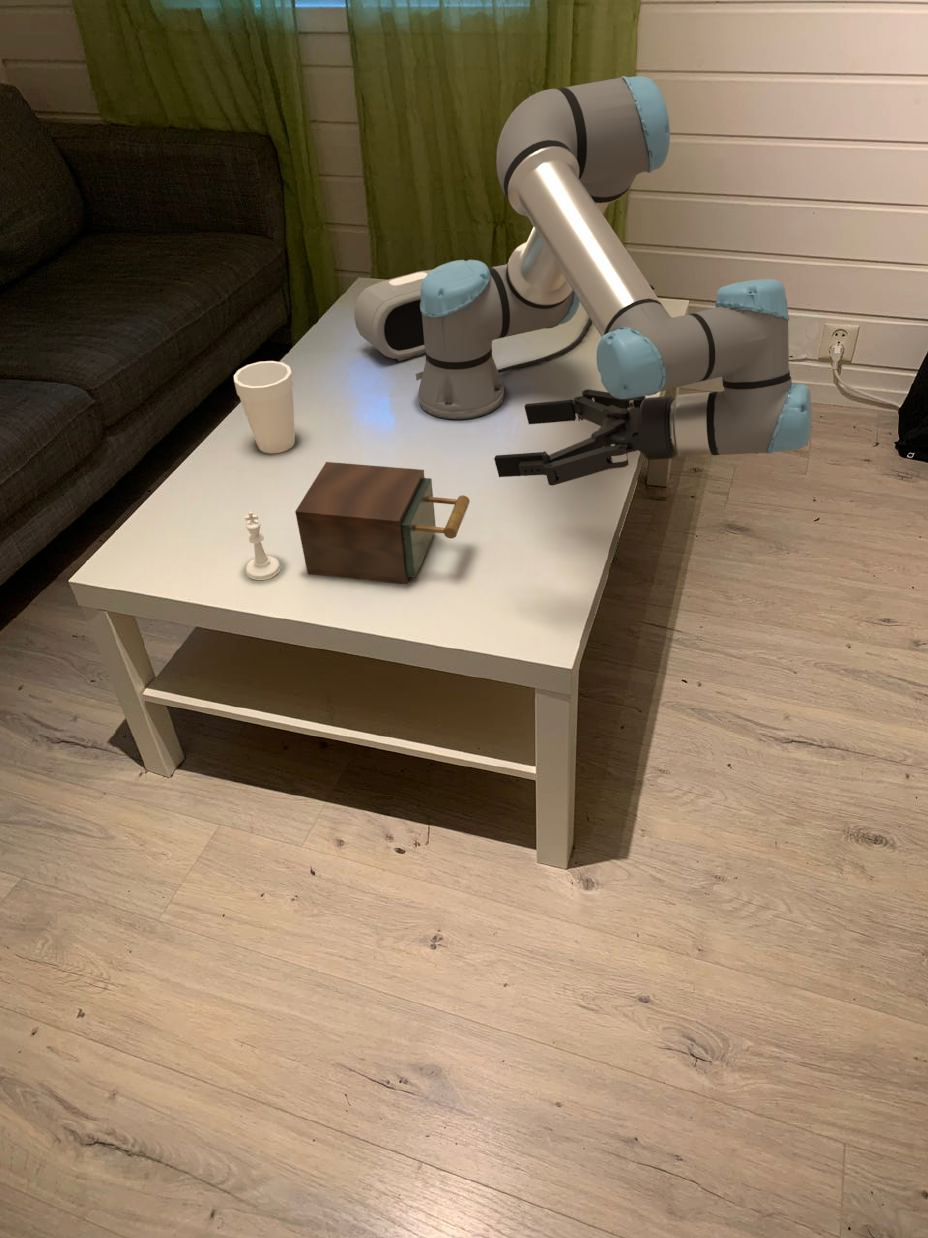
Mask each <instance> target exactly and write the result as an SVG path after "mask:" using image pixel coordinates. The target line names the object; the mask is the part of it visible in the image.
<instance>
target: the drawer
mask: <svg viewBox="0 0 928 1238" xmlns="http://www.w3.org/2000/svg"><path fill="white" fill-rule="evenodd" d="M432 480H433V479H432V478H431V477H425V478H423V480H422V482H421V484H420V486H419V488H418V491H417V493H416V495H415V497H414V498H413V500H412V502H411V504H410V506H409V508H408V510H407V512H406V514H405V516H404V518H403V521H402V524H401V527H402V536H403V544H404V553H405V561H406V570H407V576H410V577H409V578H411V577H412V578H416V576H417V574H418V571H419V570H420V567H421V565H422V562H423V560H424V558H425V555H426V554H427V551H428V548H429V546H430V545H431V542H432V539H433V537H434V535H435V534H442V535H444V536H445V537H446V538H447V539H452V540H453V539H455V538H456V537H457V535H458V533H459V530H460V527H461V525H462V522H463V520H464V518H465V515H466V513H467V510H468V508H469V505H470V502H471V500H470V498H469V497H468V496H466V495H459V496H458V497H457V498H447V497H437V496H434V493H433V492H434V491H433V481H432ZM435 504H443V505H454V506H453V508H452V511H451V513H450V515H449V518H448V520H447V522H446V525H445V527H439V526H437V525H436V514H435Z"/></svg>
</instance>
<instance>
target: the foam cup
mask: <svg viewBox="0 0 928 1238" xmlns="http://www.w3.org/2000/svg"><path fill="white" fill-rule="evenodd" d="M233 383H234V387H235V391H236V395H237V396H238V397H239V400H240V402H241V405H242V408H243V410H244V414H245V416H246V419H247V422H248V425H249V427H250V429H251V432H252V435H253V437H254V440H255V443H256V445H257V448H258V450H259V451H261V452H262V453H266V454H280V453H284V452H286V451H289V450H290V449H291V448H293V446H294V445H295V444H296V433H295V432H296V431H295V430H296V429H295V410H294V408H295V407H294V386H295V385H294V378H293V374H292V369H291V366H289V365H288V364H286V363H285V362H280V361H275V360H266V361H256V362H254V363H250V364H246V365H244V366H242V367H241V368H238V370H236V372H235V374H234V375H233Z"/></svg>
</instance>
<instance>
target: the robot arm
mask: <svg viewBox="0 0 928 1238" xmlns="http://www.w3.org/2000/svg"><path fill="white" fill-rule="evenodd" d="M670 139H671V130H670V120H669V113H668V108H667V105H666V101H665V99H664V96H663V94H662V92H661V90H660V88H659V86H658V85H657V84H656V82H655V81H653V80H652V79H651V78H649V77H647V76H643V75H636V76H626V75H622V76H620V77H617V78H610V79H605V80H599V81H594V82H589V83H581V84H577V85H571V86H565V87H558V88H550V89H544V90H541V91H538V92H536V93H533V94H531V95H530V96H529V97H526V99H524V100H523V101H522V102H521V103H520V104H518V105H517V106H516V107H515V109H514V110H513V111H512V112H511V114H510V115H509V117H508V118H507V120H506V122H505V123H504V126H503V128H502V130H501V132H500V135H499V138H498V143H497V148H496V159H495V160H496V161H495V162H496V163H495V164H496V172H497V178H498V182H499V185H500V187H501V190H502V192H503V195H504V196H505V198H506V199H507V201H508V203H509V204H510V206H511V207H512V209H513V210H514V212H516V213H517V214H519V215H521V216H523V217H527V218H528V219H529V221H530V223H531V225H532V226H533V227H532V230H531V232H530V234H529V236H528V239H527V241H526V242H524V243H522V244H520V245H519V246H517V247H516V248H515V249H514V250H513V251H512V253H511V255H510V257H509V259H508V262H507V263H506V264H502V265H497V266H492V267H488V266H487V264H486V263H484V262H482V261H480V260H476V259H468V260H464V259H460V260H453V261H449V262H447V263H444V264H441V265H439V266H437V267H435V268H434V269H431V270H432V271H431V272H429V273H428V274H427V276H426V277H425V278H424V280H423V281H422V284H421V302H420V310H421V312H422V321H423V333H424V344H425V353H424V354H425V362H424V367H423V371H420V372H417V373H415V380H416V381H419V380H420V383H419V387H418V402H419V406H420V407H421V408H422V410H423V411H425V412H426V413H427V414H428V415H432V416H434V417H438V418H440V419H446V420H468V419H473V418H479V417H482V416H485V415H487V414H489V413H492V412H493V411H495V410H497V409H498V408H499V407H500V406H501V405H502V403H503V401H504V398H505V389H504V383H503V381H502V378H501V376H500V374H502V373H505V372H509V371H512V370H515V369H520V368H524V367H529V366H532V365H537V364H539V363H543V362H546V361H549V360H551V359H554V358H556V357H558V356H560V355H563V354H565V353H566V352H568V351H570V350H571V349H573V348H574V347H575V346H577V345H578V344H579V343H580V342H581V341H582V339H583V338H584V337H585V334H586V333H587V331H588V329H589V327H590V325H591V323H592V324H593V325H594V327H595V329H596V331H597V332H598V334H599V335H600V337H601V338H600V339H599V341H598V345H597V347H596V358H595V359H596V367H597V371H598V373H599V374H600V382H601V383H602V385H603V387H604V389H605V390H606V391H603V390H595V389H590V388H586V389H584V390H582V391H581V395H578V396H575V397H574V398H573V399H565V400H564V399H563V400H553V401H543V402H531V403H525V405H524V410H525V414H526V415H525V416H526V420H527V423H528V425H539V424H540V425H541V424H551V423H564V422H575V421H576V419H577V420H578V422H581V421H585V420H586V421H588V422H590V423H593V424H595V425H596V426H600V427H599V428H598V430H595V431H594V432H592V433H591V434H590V436H589V438H586V439H584V440H582V441H579V442H576V443H574V444H572V445H570V446H568V447H565V448H562V449H560V450H557V451H555V452H553V453H551V454H549V453H548V452H546V451H545V450H544V451H540V452H527V453H509V454H496V455H495V456H494V458H493V460H494V463H495V468H496V471H497V474H498V478H508V477H528V476H529V477H531V476H545V477H546V480H547V483H548V485H549V486H557V485H559V484H564V483H566V482H569V481H574V480H577V479H580V478H584V477H587V476H590V475H593V474H597V473H600V472H604V471H607V470H612V469H620V468H626V467H628V466H629V465H630V464H629V456H628V454H630V453H634V452H638V451H639V452H640V453H641V454H642V455H643V457H644V458H645V459H646V460H648V461H656V460H657V461H658V460H671V459H675V457H676V456H677V455H678V456H679V457H680V458H695V457H701V458H708V457H709V456H724V455H725V456H726V455H749V454H750V455H751V454H752V455H753V454H767V455H769V454H773V453H778V452H779V453H780V452H788V451H796V450H801V449H803V448H805V447H806V446H807V445H808V444H809V442H810V439H811V435H812V425H813V424H812V421H813V419H812V418H813V417H812V415H813V414H812V413H813V412H812V410H813V409H812V400H811V399H812V398H811V389H810V387H809V386H808V385H806V384H804V383H801V384H799V383H798V384H797V382H792V376H791V371H790V362H789V361H790V360H789V359H790V358H789V357H790V355H789V353H790V352H789V351H790V350H789V321H790V316H789V308H788V299H787V293H786V287H785V286H784V284H783V283H782V282H781V281H780V280H778V279H774V278H762V279H752V280H751V279H750V280H744V281H739V282H734V283H730V284H727V285H724V286H722V287H720V288H719V289H718V290H717V293H716V302H715V303H714V304H715V307H712V308H709V309H705V310H699V311H697V312H692V313H688V314H684V315H679V316H671V315H670V313H669V312H668V311H667V309H666V308H665V306H664V305H663V304H662V302H661V300H660V299H659V298H658V296H657V295H656V293H655V291H654V290H655V287H654V286H653V285H651V284H650V283H649V282H648V281H647V279H646V278H645V276H644V275H643V274H642V272H641V270H640V268H639V267H638V266H637V264H636V263H635V261H634V260H633V258H632V256H631V255H630V254H629V252H628V250H627V249H626V248H625V246H624V245H623V243H622V242H621V240H620V239H619V237H618V236H617V233H615V231H614V230H613V228H612V226H611V225H610V223H609V222H608V220H607V219H606V217H605V216H604V213H605V211H606V209H607V208H608V206H609V204H610V203H613V202H616V201H618V200H620V199H621V198H623V196H625V195H626V194H627V192H628V191H629V190H630V188H631V186H632V184H633V183H634V181H635V179H636V177H637V176H638V175H639V174H641V173H648V174H650V173H652V172H654V171H656V170H659V169H660V168H662V167H663V165H664V164H665V162H666V161H667V158H668V155H669V151H670V143H671V141H670ZM580 304H581V306H582V307H583V310H584V311H585V313H586V315H587V316H588V319H587V321H586V323H585V325H584V327H583V329H582V330H581V333H579V335H578V337H577V338H576V339H575V340H573V342H571V343H570V344H568V345H567V346H566V347H564V348H562V349H560V350H557V351H556V352H554V353H551V354H548V355H546V356H543V357H540V358H536V359H533V360H529V361H525V362H522V363H521V362H520V363H517V364H512V365H510V366H505V367H502V368H500V369H499V368H497V365H496V363H495V359H494V358H493V346H492V345H493V341H495V340H500V339H503V338H508V337H512V336H517V335H520V334H525V333H529V332H534V331H539V330H542V329H543V330H544V329H545V330H547V329H554V328H555V327H559V326H561V325H563V324H566V323H567V322H569V321H571V320H572V319H573V318H574V316H575V315H576V314H577V311H578V310H579V307H580ZM717 378H721V381H722V382H721V383H722V387H723V390H721V391H707V392H706V391H705V392H694V393H693V392H692V393H684V394H678V395H677V397H676V398H675V397H673V396H671V395H664V396H655V397H654V395H657V394H658V393H661V392H665V391H668V390H669V391H670V390H673V389H676V388H679V387H684V386H688V385H693V384H695V383H696V384H697V383H700V382H705V381H709V380H713V379H717ZM649 396H653V397H649Z"/></svg>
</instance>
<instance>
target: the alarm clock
mask: <svg viewBox="0 0 928 1238" xmlns="http://www.w3.org/2000/svg"><path fill="white" fill-rule="evenodd" d="M432 270H433V269H427V270H421V271H416V272H412V273H409V274H405V275H401V276H396V277H393V278H390V279H387V280H383V281H379V282H376V283H375V284H371V285H369V286H367V287H365V288H364V289H363V291H362V292H360V294H359V295H358V297H357V299H356V301H355V305H354V309H353V311H354V312H353V313H354V322H355V328H356V330H357V332H358V334H359V335H360V336H361V337H362V338H363V339H364V340H365V341H366V342H368V343H369V344H370V345H371V346H373V348H375V349H376V350H377V351H379V352H380V353H381V354H382V355H383V356H385V357H387V358H390V359H393V360H394V359H395V360H397V361H398V362H401V361H404V360H407V359H410V358H414V357H418V356H421V355H424V354H425V344H424V333H423V321H422V312H421V310H420V302H421V284H422V281H423V280H424V278H425V277H426V276H427V274H428V273H429V272H431V271H432Z"/></svg>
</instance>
